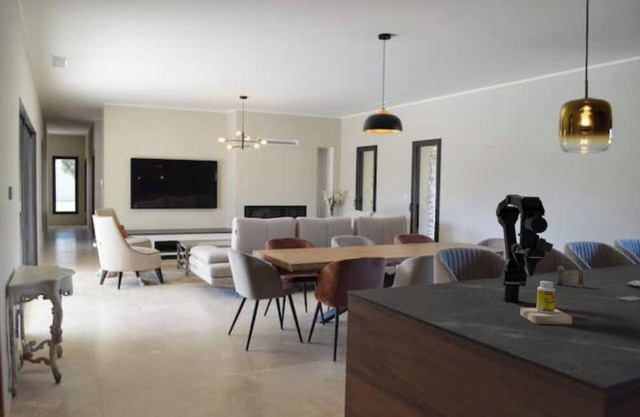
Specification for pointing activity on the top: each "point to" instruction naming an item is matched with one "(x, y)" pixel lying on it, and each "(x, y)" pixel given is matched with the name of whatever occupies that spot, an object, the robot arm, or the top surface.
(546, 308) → the supplement bottle
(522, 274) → the robot arm
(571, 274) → the architectural model on board
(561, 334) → the top surface
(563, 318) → the birch base
